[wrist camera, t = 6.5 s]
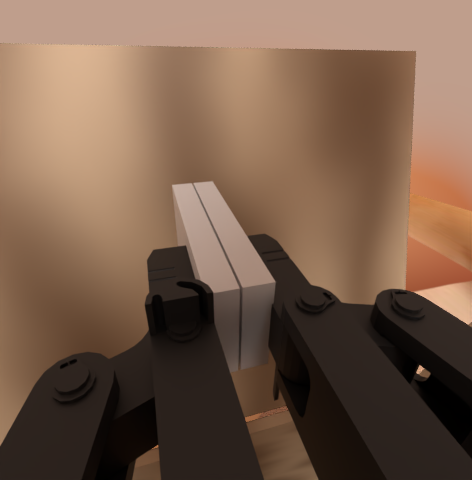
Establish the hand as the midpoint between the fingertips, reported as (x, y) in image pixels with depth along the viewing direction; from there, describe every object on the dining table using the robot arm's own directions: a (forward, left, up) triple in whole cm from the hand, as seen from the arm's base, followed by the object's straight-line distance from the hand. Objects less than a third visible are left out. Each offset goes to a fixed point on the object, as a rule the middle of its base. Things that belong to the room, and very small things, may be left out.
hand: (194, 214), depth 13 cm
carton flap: (-1, 0, -2) cm, 3 cm away
